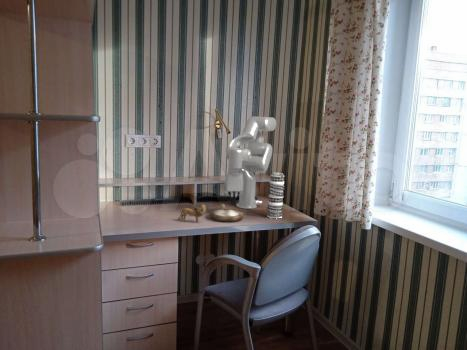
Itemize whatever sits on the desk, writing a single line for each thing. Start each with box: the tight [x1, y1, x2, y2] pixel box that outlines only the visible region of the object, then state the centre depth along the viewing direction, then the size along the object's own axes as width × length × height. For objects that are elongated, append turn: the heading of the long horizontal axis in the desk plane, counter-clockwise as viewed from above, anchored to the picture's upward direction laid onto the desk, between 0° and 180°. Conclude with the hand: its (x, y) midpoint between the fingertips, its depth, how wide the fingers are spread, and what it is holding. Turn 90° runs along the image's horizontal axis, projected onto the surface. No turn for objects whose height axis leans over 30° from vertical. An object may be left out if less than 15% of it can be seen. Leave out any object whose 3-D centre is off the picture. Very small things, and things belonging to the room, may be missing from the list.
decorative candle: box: [266, 171, 286, 220], centre depth 205 cm, size 9×9×25 cm
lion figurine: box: [177, 204, 207, 223], centre depth 189 cm, size 15×5×9 cm, turn 90°
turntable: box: [209, 203, 244, 222], centre depth 199 cm, size 18×18×5 cm
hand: (232, 203), depth 206 cm, fingers closed
